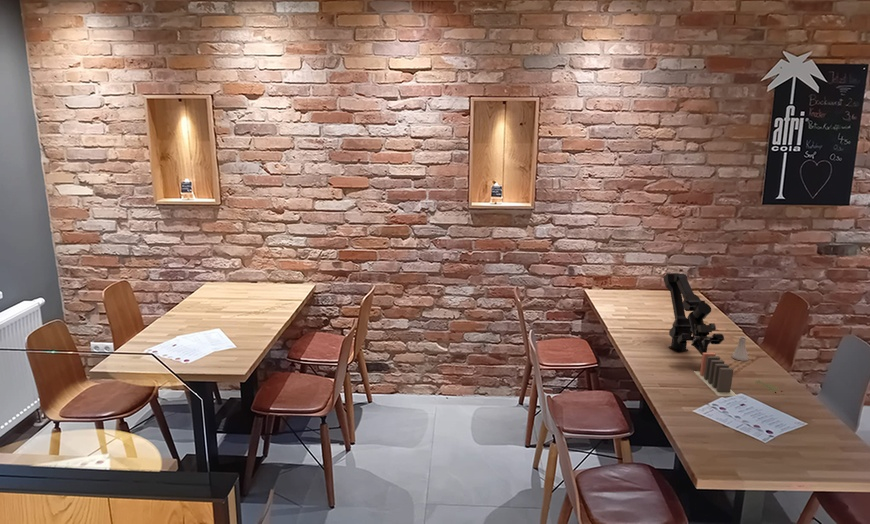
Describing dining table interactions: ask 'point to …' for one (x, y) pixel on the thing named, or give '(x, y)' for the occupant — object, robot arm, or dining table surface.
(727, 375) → the domino
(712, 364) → the domino
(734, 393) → the strip
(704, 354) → the domino
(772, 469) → the dining table surface
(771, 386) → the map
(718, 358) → the domino
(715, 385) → the domino
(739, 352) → the flask
